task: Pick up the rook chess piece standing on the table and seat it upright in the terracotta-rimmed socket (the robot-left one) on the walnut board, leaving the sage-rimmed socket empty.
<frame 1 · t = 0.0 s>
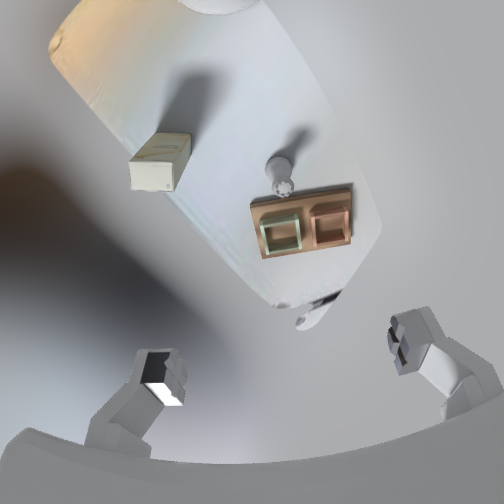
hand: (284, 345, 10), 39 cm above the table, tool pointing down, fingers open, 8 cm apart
board: (303, 222, 54), on the table
rook chess piece: (278, 167, 46), on the table
skincare box: (172, 144, 43), on the table
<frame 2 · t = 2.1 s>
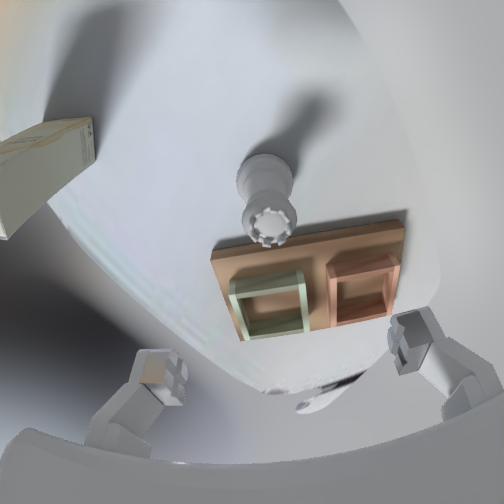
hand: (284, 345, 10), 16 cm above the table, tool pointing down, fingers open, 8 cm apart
board: (313, 282, 29), on the table
rook chess piece: (264, 177, 23), on the table
skincare box: (67, 141, 20), on the table
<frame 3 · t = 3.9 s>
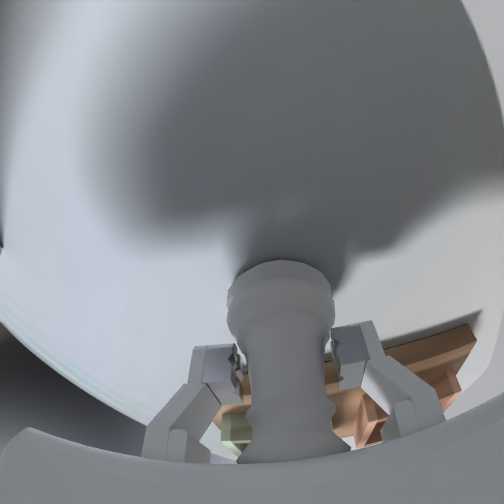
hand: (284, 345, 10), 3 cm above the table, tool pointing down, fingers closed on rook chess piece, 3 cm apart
board: (339, 400, 19), on the table
rook chess piece: (278, 292, 12), on the table, touching gripper
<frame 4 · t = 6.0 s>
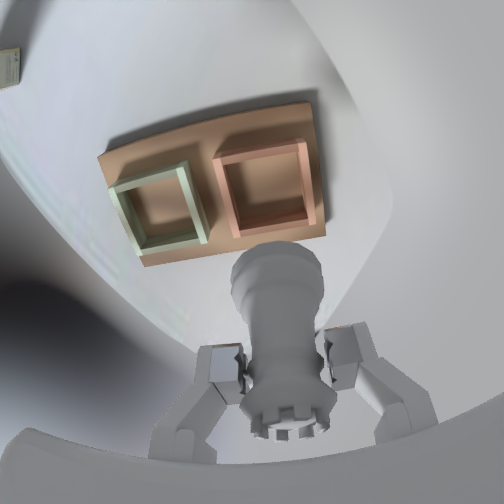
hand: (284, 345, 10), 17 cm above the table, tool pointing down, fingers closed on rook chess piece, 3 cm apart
board: (214, 187, 25), on the table
rook chess piece: (275, 270, 14), point 12 cm above the table, touching gripper
skincare box: (4, 72, 16), on the table
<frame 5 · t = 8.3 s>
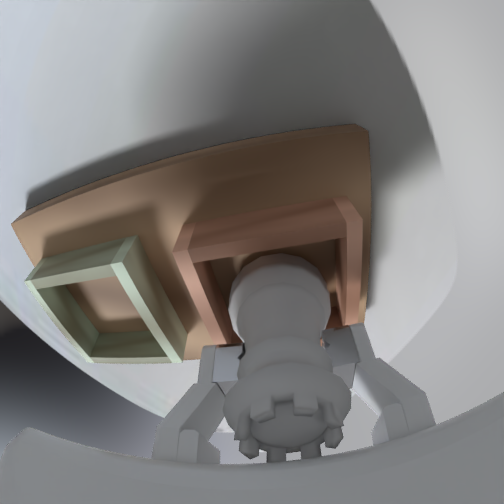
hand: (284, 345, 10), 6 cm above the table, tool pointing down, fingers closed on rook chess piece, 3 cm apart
board: (189, 269, 15), on the table
rook chess piece: (278, 295, 13), point 2 cm above the table, touching board, gripper
when the fingers open (5 cm above the table, at t = 8.4 s): rook chess piece stays where it is, resting on board.
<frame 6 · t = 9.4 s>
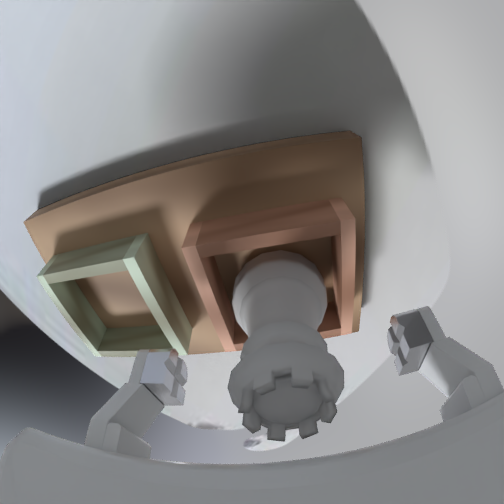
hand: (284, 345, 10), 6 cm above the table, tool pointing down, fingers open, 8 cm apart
board: (195, 266, 16), on the table
rook chess piece: (278, 290, 14), point 2 cm above the table, touching board
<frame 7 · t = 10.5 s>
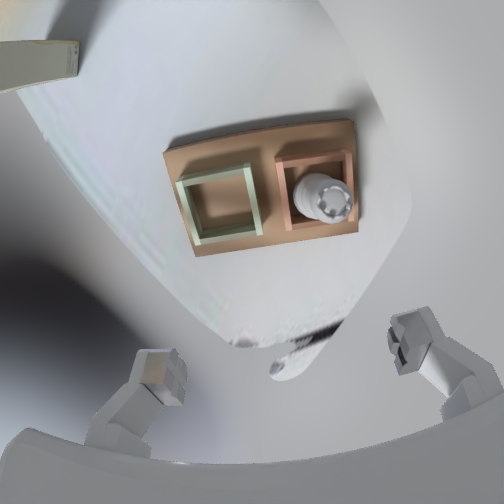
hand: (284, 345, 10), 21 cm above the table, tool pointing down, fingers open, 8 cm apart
board: (267, 186, 28), on the table
rook chess piece: (315, 195, 27), point 2 cm above the table, touching board
skincare box: (58, 63, 20), on the table
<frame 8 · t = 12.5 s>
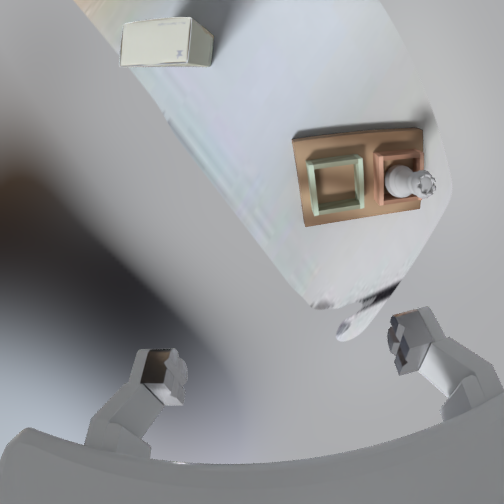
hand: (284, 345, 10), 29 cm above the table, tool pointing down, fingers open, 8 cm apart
board: (362, 173, 36), on the table
rook chess piece: (397, 180, 34), point 2 cm above the table, touching board
skincare box: (186, 51, 27), on the table
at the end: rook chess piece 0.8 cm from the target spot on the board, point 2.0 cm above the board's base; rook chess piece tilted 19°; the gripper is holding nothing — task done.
